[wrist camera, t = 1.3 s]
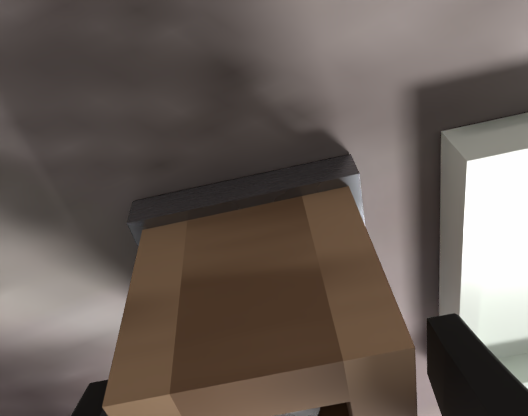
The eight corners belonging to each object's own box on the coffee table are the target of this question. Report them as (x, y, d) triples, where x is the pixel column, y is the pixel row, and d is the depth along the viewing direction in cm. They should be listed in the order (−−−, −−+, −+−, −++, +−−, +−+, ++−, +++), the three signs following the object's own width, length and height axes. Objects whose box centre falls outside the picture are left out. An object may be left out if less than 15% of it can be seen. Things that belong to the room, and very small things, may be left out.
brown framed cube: (365, 326, 15) (419, 494, 11) (200, 358, 15) (193, 533, 11) (348, 186, 12) (414, 347, 8) (142, 230, 12) (102, 407, 8)
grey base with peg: (367, 307, 16) (418, 455, 12) (195, 341, 16) (186, 496, 12) (350, 154, 13) (413, 288, 8) (132, 201, 13) (91, 351, 9)
